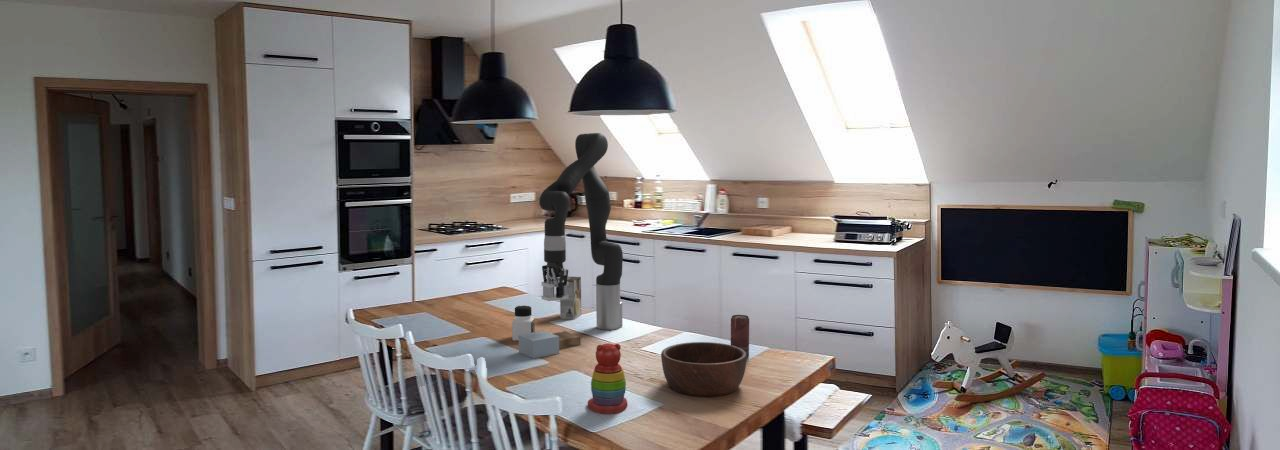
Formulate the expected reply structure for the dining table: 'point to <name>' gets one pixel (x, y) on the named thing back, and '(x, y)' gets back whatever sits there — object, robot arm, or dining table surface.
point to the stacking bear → (608, 381)
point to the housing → (548, 291)
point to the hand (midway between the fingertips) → (555, 296)
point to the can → (740, 332)
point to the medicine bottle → (522, 322)
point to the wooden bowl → (703, 368)
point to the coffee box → (571, 299)
